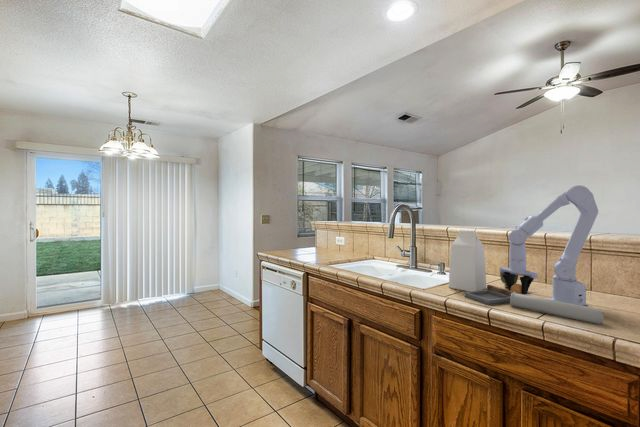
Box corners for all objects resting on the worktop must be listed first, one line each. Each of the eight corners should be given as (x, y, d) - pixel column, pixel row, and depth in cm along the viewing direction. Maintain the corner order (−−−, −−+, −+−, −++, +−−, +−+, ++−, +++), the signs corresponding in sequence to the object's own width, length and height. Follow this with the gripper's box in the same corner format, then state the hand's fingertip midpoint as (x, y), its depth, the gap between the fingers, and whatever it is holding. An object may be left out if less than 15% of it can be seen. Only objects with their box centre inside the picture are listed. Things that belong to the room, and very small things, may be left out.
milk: (448, 287, 142) (448, 230, 142) (459, 283, 150) (459, 229, 150) (475, 292, 133) (475, 231, 133) (486, 287, 141) (486, 230, 141)
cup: (513, 285, 144) (513, 268, 144) (522, 289, 137) (522, 271, 137) (496, 285, 145) (496, 268, 145) (504, 289, 138) (504, 271, 138)
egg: (528, 297, 125) (528, 284, 125) (518, 298, 124) (518, 285, 124) (516, 294, 130) (516, 282, 130) (507, 295, 128) (507, 283, 128)
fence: (528, 303, 117) (528, 295, 117) (525, 303, 116) (525, 295, 116) (489, 291, 134) (489, 284, 134) (487, 292, 133) (487, 285, 133)
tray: (513, 302, 118) (513, 297, 118) (488, 305, 115) (488, 300, 115) (488, 294, 130) (488, 290, 130) (464, 296, 126) (464, 292, 126)
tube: (605, 309, 97) (515, 293, 116) (603, 307, 94) (510, 291, 113) (604, 327, 96) (514, 307, 115) (601, 325, 93) (509, 305, 112)
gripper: (542, 261, 122) (542, 295, 122) (507, 256, 135) (507, 287, 135) (531, 262, 119) (531, 298, 119) (496, 257, 132) (496, 289, 132)
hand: (517, 292), depth 127 cm, fingers closed on egg, 5 cm apart
